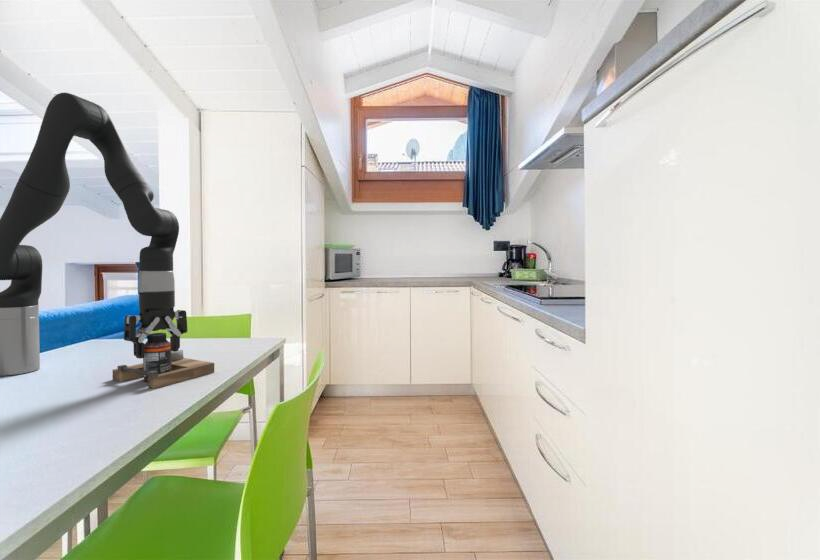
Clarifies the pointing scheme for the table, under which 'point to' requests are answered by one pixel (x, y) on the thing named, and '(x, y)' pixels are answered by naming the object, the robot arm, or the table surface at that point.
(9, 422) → the table surface
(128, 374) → the notched board
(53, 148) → the robot arm
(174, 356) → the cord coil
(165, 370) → the supplement bottle
